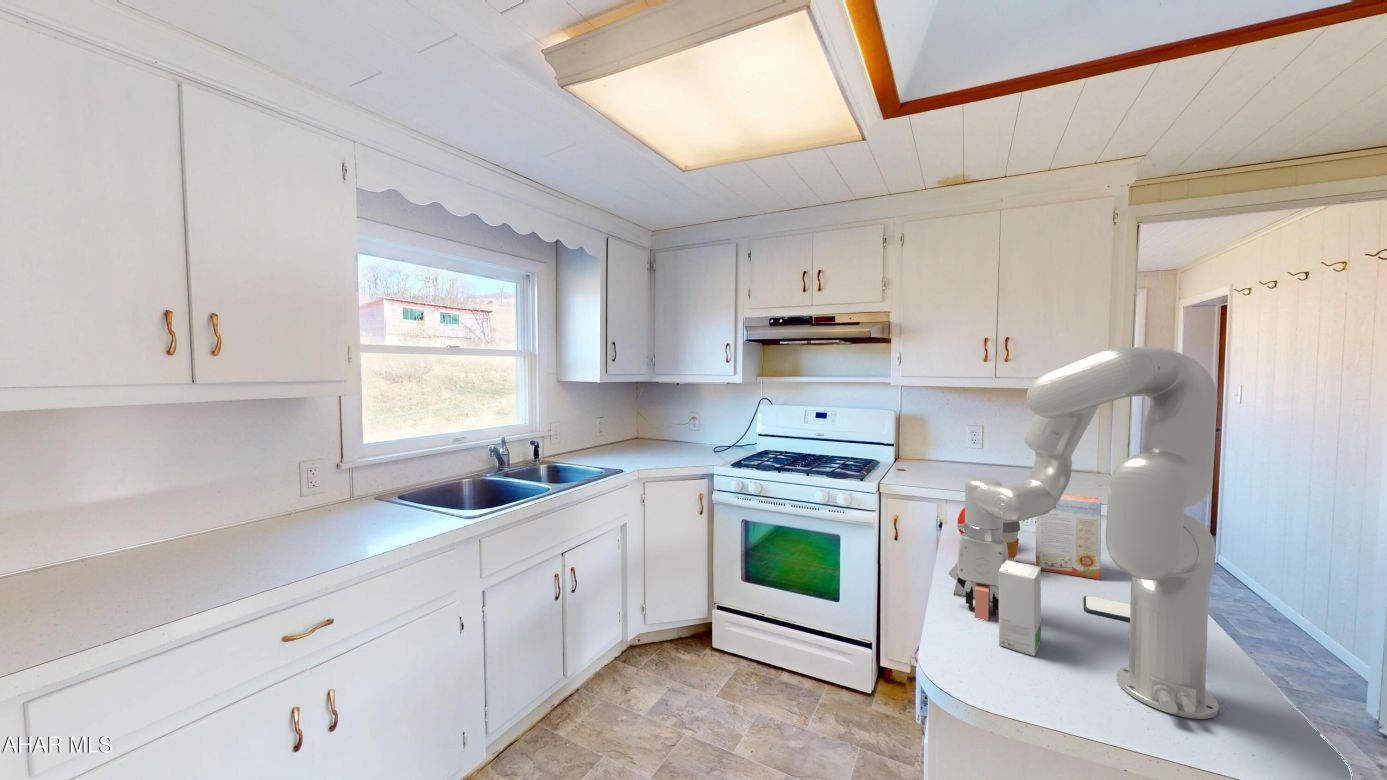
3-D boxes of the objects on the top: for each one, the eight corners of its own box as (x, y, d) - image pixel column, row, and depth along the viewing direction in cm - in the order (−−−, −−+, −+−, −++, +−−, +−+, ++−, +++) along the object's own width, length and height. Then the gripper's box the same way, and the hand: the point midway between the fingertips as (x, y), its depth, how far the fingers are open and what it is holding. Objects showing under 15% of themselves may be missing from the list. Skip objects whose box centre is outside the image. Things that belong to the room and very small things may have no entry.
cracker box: (1097, 572, 134) (1098, 496, 133) (1100, 581, 129) (1102, 502, 128) (1034, 562, 142) (1035, 490, 141) (1035, 570, 137) (1036, 495, 136)
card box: (988, 621, 110) (988, 591, 110) (974, 618, 112) (974, 589, 111) (989, 605, 118) (990, 577, 117) (977, 602, 119) (977, 574, 119)
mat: (1026, 610, 115) (1026, 608, 114) (953, 595, 123) (953, 592, 123) (1025, 586, 127) (1025, 583, 127) (959, 573, 135) (959, 571, 135)
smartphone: (1083, 615, 113) (1181, 636, 104) (1083, 608, 113) (1181, 628, 103) (1083, 600, 120) (1174, 619, 111) (1083, 594, 120) (1174, 611, 110)
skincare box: (1034, 657, 96) (1035, 579, 96) (995, 645, 101) (996, 570, 100) (1041, 640, 102) (1042, 566, 102) (1004, 628, 107) (1005, 558, 106)
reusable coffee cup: (1020, 581, 130) (1021, 525, 129) (965, 572, 136) (966, 518, 136) (1018, 565, 140) (1019, 513, 140) (968, 556, 147) (968, 506, 146)
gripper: (940, 530, 115) (940, 607, 116) (1027, 543, 106) (1026, 627, 107) (944, 521, 121) (944, 594, 122) (1027, 533, 112) (1025, 612, 113)
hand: (982, 609), depth 115 cm, fingers open, 4 cm apart
